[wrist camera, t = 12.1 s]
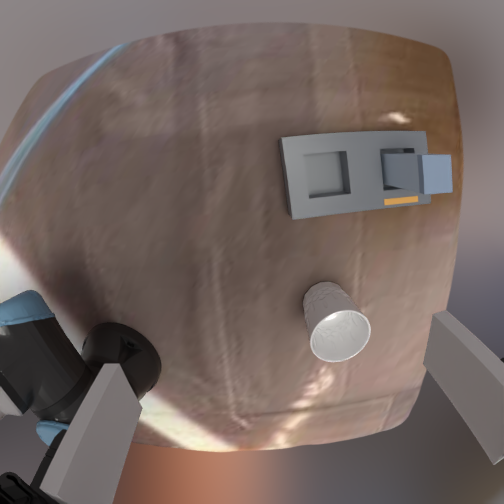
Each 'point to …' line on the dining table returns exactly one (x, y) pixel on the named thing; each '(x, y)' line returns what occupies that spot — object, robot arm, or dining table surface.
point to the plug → (417, 172)
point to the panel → (345, 172)
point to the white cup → (334, 323)
